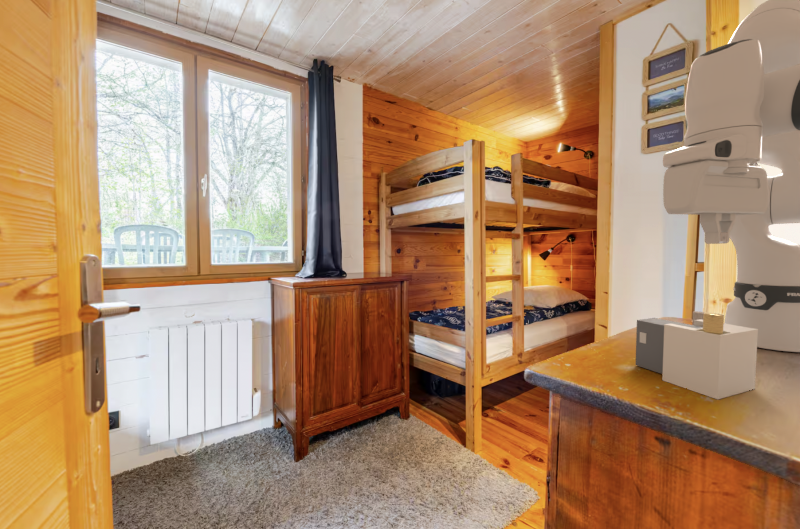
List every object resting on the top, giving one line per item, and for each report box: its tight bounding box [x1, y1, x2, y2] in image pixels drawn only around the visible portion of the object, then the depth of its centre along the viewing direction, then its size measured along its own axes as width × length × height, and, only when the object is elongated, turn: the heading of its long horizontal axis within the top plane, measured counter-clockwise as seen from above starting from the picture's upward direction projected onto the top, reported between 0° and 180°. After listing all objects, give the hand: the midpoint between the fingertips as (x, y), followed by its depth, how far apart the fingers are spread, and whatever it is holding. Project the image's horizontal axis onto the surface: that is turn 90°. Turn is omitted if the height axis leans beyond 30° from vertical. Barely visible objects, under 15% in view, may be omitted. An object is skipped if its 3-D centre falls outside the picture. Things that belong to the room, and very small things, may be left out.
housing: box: [662, 319, 758, 400], centre depth 58 cm, size 10×8×10 cm
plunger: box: [703, 312, 725, 335], centre depth 55 cm, size 2×2×6 cm
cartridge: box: [635, 317, 703, 375], centre depth 63 cm, size 5×9×9 cm, turn 20°
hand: (716, 243), depth 54 cm, fingers closed
